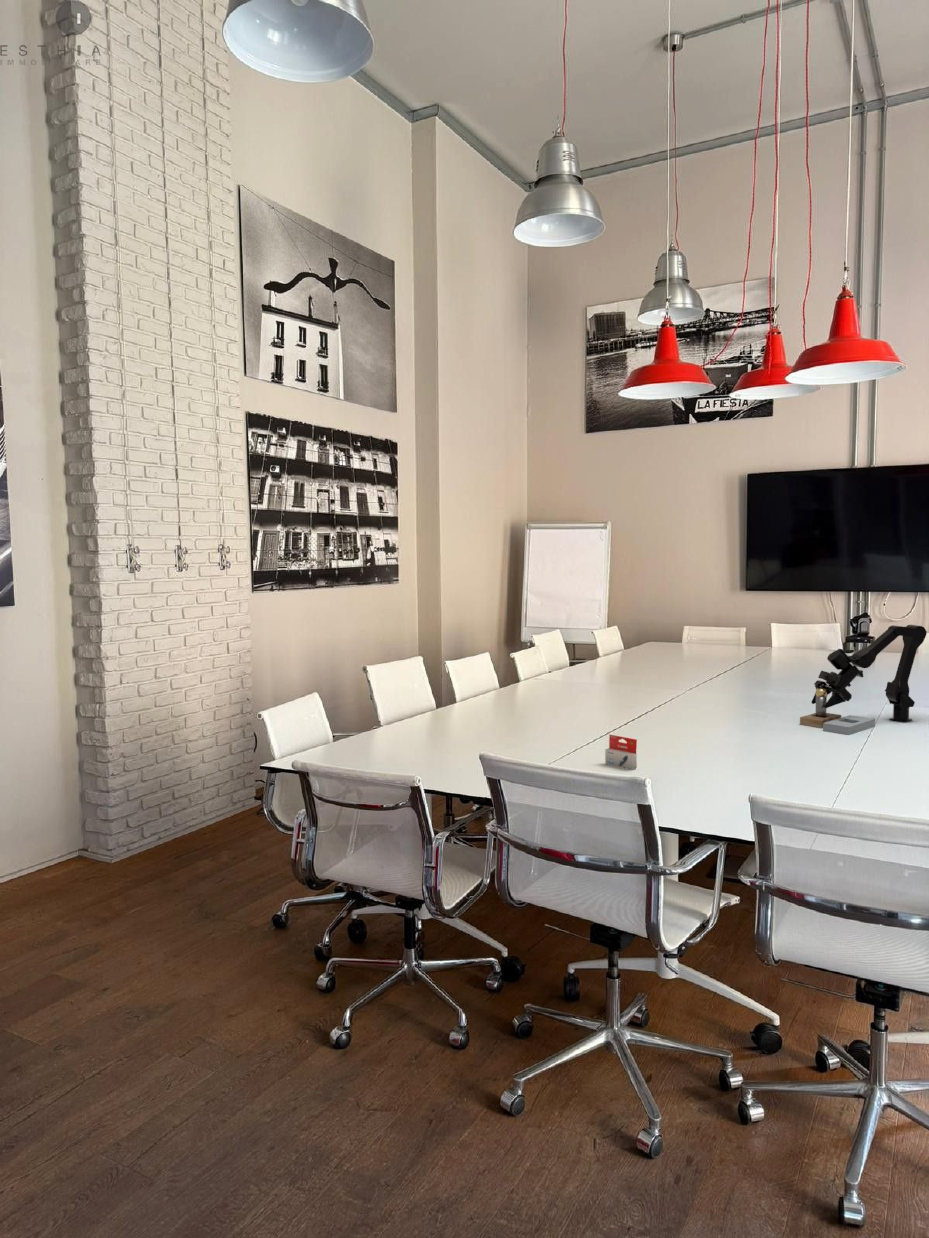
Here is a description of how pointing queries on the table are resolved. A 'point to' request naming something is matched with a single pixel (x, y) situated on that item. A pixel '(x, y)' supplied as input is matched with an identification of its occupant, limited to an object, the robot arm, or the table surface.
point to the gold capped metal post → (821, 702)
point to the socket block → (817, 719)
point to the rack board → (848, 724)
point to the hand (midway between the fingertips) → (818, 705)
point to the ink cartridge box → (621, 752)
